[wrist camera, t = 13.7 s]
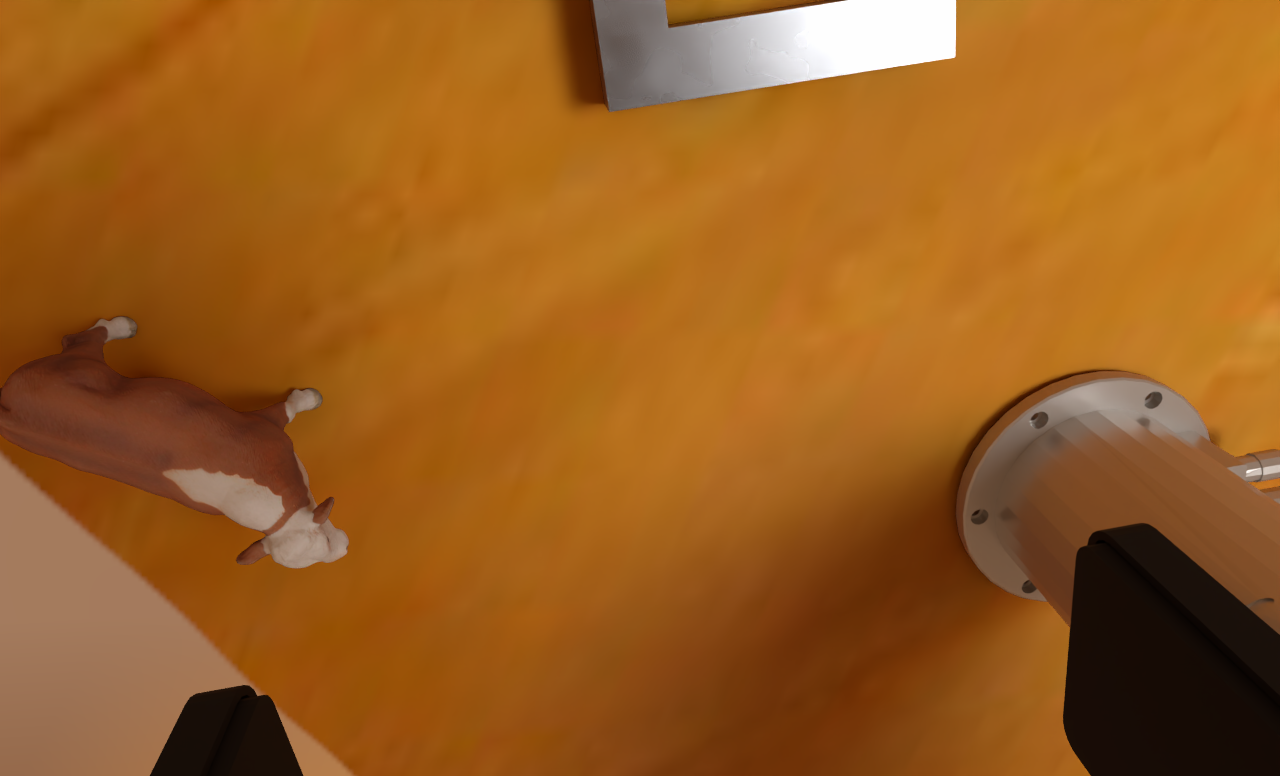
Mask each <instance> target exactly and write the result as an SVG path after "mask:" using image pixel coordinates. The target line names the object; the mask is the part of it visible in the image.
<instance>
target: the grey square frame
mask: <svg viewBox="0 0 1280 776" xmlns="http://www.w3.org/2000/svg"><path fill="white" fill-rule="evenodd" d="M589 3H590V10H591V17H592V23H593V30H594V37H595V43H596V50H597V57H598V64H599V70H600V77H601V84H602V91H603V97H604V104H605V106H606V107H607V109H608V111H609V112H611V111H618V110H624V109H630V108H637V107H643V106H649V105H656V104H662V103H668V102H675V101H681V100H687V99H694V98H700V97H706V96H713V95H719V94H725V93H732V92H738V91H744V90H751V89H757V88H763V87H770V86H776V85H782V84H789V83H795V82H801V81H808V80H814V79H820V78H827V77H833V76H839V75H846V74H852V73H858V72H865V71H871V70H877V69H884V68H890V67H896V66H903V65H909V64H915V63H922V62H928V61H934V60H941V59H947V58H953V57H955V37H956V0H825V1H819V2H812V3H806V4H799V5H793V6H786V7H780V8H774V9H767V10H761V11H754V12H748V13H741V14H735V15H728V16H722V17H715V18H709V19H702V20H696V21H689V22H683V23H676V24H670V25H668V22H667V13H666V5H665V0H589Z"/></svg>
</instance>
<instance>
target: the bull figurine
mask: <svg viewBox="0 0 1280 776" xmlns="http://www.w3.org/2000/svg"><path fill="white" fill-rule="evenodd" d="M136 330H137V324H136V323H135V322H134V321H133V320H132V319H130V318H128V317H123V316H121V317H115V318H113V319H112V320H111V321H107V320H105V319H100V320H99V321H98V322H97V323H96V324H95V326H93V327H92V328H90V329H88V330H86V331H83V332H80V333H78V334H72V335H66V336H64V337H63V339H62V345H63V351H62V353H61V354H56V355H51V356H48V357H44V358H41V359H37V360H34V361H31V362H29V363H27V364H25V365H23V366H21V367H20V368H18V369H17V370H16V371H15V372H14V373H13V374H11V376H10V377H9V378H8V380H7V381H6V383H5V385H4V386H3V388H0V434H1V435H2V436H3V437H4V438H5V439H7V440H8V441H10V442H12V443H14V444H16V445H18V446H20V447H22V448H24V449H26V450H28V451H30V452H33V453H35V454H38V455H42V456H45V457H49V458H52V459H55V460H58V461H60V462H62V463H64V464H66V465H68V466H70V467H73V468H75V469H78V470H81V471H85V472H89V473H93V474H97V475H101V476H104V477H107V478H111V479H114V480H117V481H120V482H123V483H126V484H128V485H131V486H134V487H137V488H139V489H142V490H144V491H147V492H150V493H153V494H156V495H159V496H163V497H166V498H170V499H173V500H175V501H177V502H179V503H181V504H183V505H185V506H187V507H189V508H192V509H194V510H197V511H200V512H203V513H208V514H212V515H226V516H227V517H229V518H230V519H232V520H233V521H235V522H236V523H238V524H240V525H242V526H245V527H248V528H251V529H254V530H258V531H261V532H263V533H265V534H266V536H265V537H264V538H263V539H261V540H258V541H256V542H254V543H253V544H252V545H250V546H249V547H248V548H247V549H246V550H244V551H243V552H242V553H241V554H240V555H238V557H237V560H236V561H237V563H238V564H241V565H248V564H252V563H254V562H256V561H257V560H259V559H260V558H262V557H264V556H266V555H269V554H271V555H272V558H273V560H274V561H275V562H277V563H279V564H282V565H283V566H286V567H289V568H304V567H307V566H310V565H312V564H314V563H316V562H321V561H323V562H327V563H330V562H333V561H335V560H337V559H339V558H341V557H343V556H344V555H346V554H347V547H348V545H349V540H348V537H347V535H346V533H345V532H344V531H343V530H341V529H336V528H335V527H334V526H333V525H332V523H331V522H330V520H329V519H328V516H329V513H330V511H331V509H332V506H333V504H334V498H333V497H329V498H328V499H326V500H325V501H324V502H323V503H321V504H320V505H319V506H317V504H316V503H315V501H314V498H313V496H312V493H311V491H310V489H309V478H308V474H307V472H306V469H305V467H304V465H303V464H302V462H301V461H300V459H299V458H298V456H297V454H296V453H295V452H294V450H293V443H292V441H291V439H290V438H289V437H288V435H287V434H286V433H285V432H284V431H283V430H284V427H285V425H286V424H287V423H290V422H291V421H292V420H293V418H294V417H295V413H297V412H301V411H303V410H313V409H315V408H317V407H319V406H320V405H321V403H322V396H321V394H320V393H319V392H318V391H317V390H315V389H312V388H307V389H305V390H303V391H300V390H298V389H295V390H294V391H293V392H292V393H291V395H289V396H288V397H287V401H286V402H279V403H276V404H274V405H272V406H270V407H267V408H265V409H261V410H256V411H252V412H236V411H234V410H232V409H231V408H229V407H227V406H226V405H225V404H223V403H222V402H220V401H219V400H218V399H216V398H215V397H213V396H212V395H210V394H209V393H207V392H205V391H203V390H202V389H200V388H198V387H196V386H193V385H191V384H189V383H186V382H183V381H180V380H175V379H170V378H160V377H150V378H127V377H124V376H122V375H120V374H118V373H117V372H115V371H114V370H112V369H111V368H110V367H109V366H108V365H107V364H106V363H105V361H104V356H103V345H104V344H105V343H106V342H107V341H110V340H113V339H124V338H131V337H133V336H135V335H136Z"/></svg>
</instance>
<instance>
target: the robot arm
mask: <svg viewBox="0 0 1280 776" xmlns="http://www.w3.org/2000/svg"><path fill="white" fill-rule="evenodd" d="M1277 478H1280V450H1276V449H1270V450H1265V451H1259V452H1254V453H1249V454H1246V455H1244V456H1239V457H1234V456H1232V455H1231V454H1229V453H1227V452H1225V451H1224V450H1222V449H1221V448H1219V447H1218V446H1216V445H1215V444H1213V443H1212V442H1210V438H1209V434H1208V430H1207V427H1206V426H1205V424H1204V422H1203V420H1202V418H1201V416H1200V415H1199V413H1198V411H1197V410H1196V409H1195V408H1194V407H1193V406H1192V405H1191V404H1190V403H1189V402H1188V401H1187V400H1186V399H1185V398H1184V397H1183V396H1181V395H1180V394H1178V393H1177V392H1175V391H1174V390H1172V389H1171V388H1169V387H1168V386H1166V385H1164V384H1162V383H1160V382H1158V381H1156V380H1154V379H1151V378H1149V377H1147V376H1144V375H1139V374H1134V373H1129V372H1125V371H1098V372H1092V373H1087V374H1081V375H1075V376H1072V377H1070V378H1067V379H1064V380H1061V381H1058V382H1055V383H1052V384H1050V385H1048V386H1046V387H1044V388H1043V389H1041V390H1039V391H1037V392H1035V393H1033V394H1031V395H1030V396H1028V397H1026V398H1025V399H1024V400H1022V401H1021V402H1020V403H1018V404H1017V405H1016V406H1014V407H1013V408H1012V409H1010V410H1009V411H1008V412H1006V413H1005V414H1004V415H1003V416H1002V417H1001V418H1000V419H999V420H998V421H997V422H996V423H995V424H994V425H993V426H992V428H991V429H990V430H989V431H988V432H987V433H986V435H985V436H984V437H983V439H982V440H981V442H980V443H979V444H978V446H977V447H976V449H975V450H974V451H973V453H972V455H971V458H970V460H969V462H968V464H967V466H966V468H965V470H964V472H963V475H962V479H961V482H960V486H959V489H958V493H957V504H956V520H957V526H958V532H959V536H960V538H961V541H962V543H963V545H964V548H965V550H966V552H967V554H968V555H969V556H970V558H971V559H972V560H973V562H974V563H975V565H976V566H977V567H978V569H979V570H980V571H981V572H982V573H983V574H984V575H985V576H986V577H987V578H988V579H989V580H990V581H991V582H992V583H994V584H995V585H997V586H998V587H1000V588H1002V589H1003V590H1005V591H1006V592H1008V593H1011V594H1013V595H1016V596H1019V597H1021V598H1025V599H1031V600H1037V601H1044V602H1049V603H1050V605H1051V606H1052V607H1053V608H1054V609H1055V611H1056V612H1057V613H1058V614H1059V615H1060V616H1061V618H1062V619H1063V620H1064V621H1065V622H1066V624H1067V625H1068V626H1069V627H1070V637H1069V649H1068V662H1067V674H1066V687H1065V700H1064V712H1063V724H1064V729H1065V733H1066V736H1067V739H1068V741H1069V743H1070V746H1071V747H1072V749H1073V751H1074V752H1075V754H1076V755H1077V757H1078V758H1079V760H1080V761H1081V762H1082V764H1083V765H1084V767H1085V768H1086V769H1087V771H1088V772H1089V774H1090V775H1091V776H1280V486H1278V487H1272V488H1267V489H1261V490H1258V489H1257V488H1255V487H1254V486H1252V485H1251V484H1249V483H1248V482H1261V481H1266V480H1272V479H1277ZM150 776H303V774H302V771H301V769H300V767H299V764H298V762H297V759H296V757H295V754H294V752H293V749H292V747H291V744H290V742H289V739H288V737H287V734H286V732H285V730H284V727H283V725H282V722H281V720H280V717H279V715H278V712H277V710H276V707H275V705H274V703H273V701H272V699H271V698H270V697H269V696H268V695H261V696H257V695H256V693H255V691H254V689H252V688H251V687H250V686H248V685H242V686H236V687H231V688H225V689H220V690H214V691H209V692H203V693H198V694H195V695H193V696H192V697H190V698H189V700H188V701H187V703H186V704H185V706H184V708H183V710H182V712H181V714H180V716H179V718H178V720H177V722H176V724H175V726H174V728H173V730H172V732H171V734H170V736H169V738H168V740H167V743H166V744H165V746H164V748H163V751H162V753H161V754H160V756H159V759H158V761H157V763H156V764H155V767H154V768H153V770H152V773H151V774H150Z"/></svg>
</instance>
